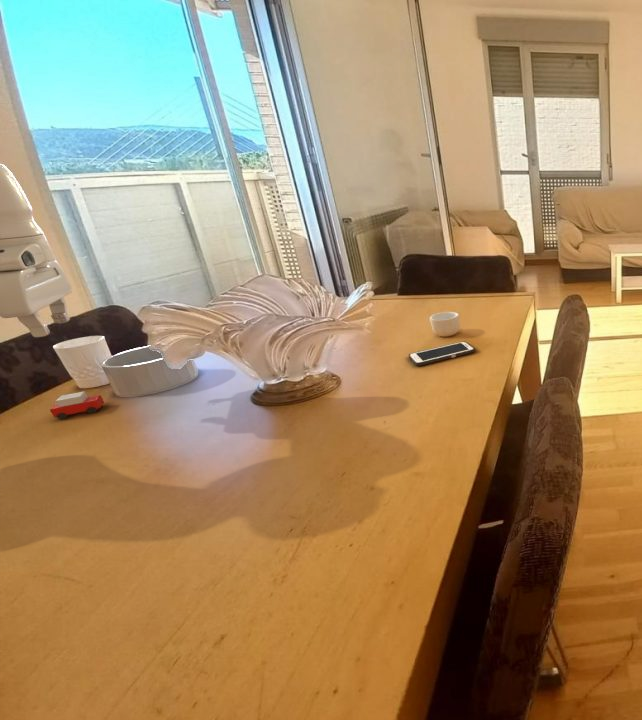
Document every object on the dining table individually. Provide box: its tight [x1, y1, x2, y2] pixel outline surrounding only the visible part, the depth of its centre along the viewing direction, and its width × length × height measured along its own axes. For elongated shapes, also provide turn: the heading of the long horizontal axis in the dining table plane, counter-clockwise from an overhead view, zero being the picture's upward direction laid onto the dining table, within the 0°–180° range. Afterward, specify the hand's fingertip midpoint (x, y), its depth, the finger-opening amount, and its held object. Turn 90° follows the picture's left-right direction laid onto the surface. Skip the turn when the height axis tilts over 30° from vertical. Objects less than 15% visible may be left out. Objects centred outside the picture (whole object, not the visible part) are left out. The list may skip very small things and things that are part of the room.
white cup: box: [52, 335, 113, 389], centre depth 107 cm, size 8×8×10 cm
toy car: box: [49, 391, 105, 421], centre depth 94 cm, size 6×4×4 cm, turn 122°
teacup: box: [429, 311, 461, 338], centre depth 133 cm, size 10×8×5 cm
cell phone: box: [408, 340, 476, 367], centre depth 118 cm, size 8×15×1 cm, turn 127°
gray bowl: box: [100, 345, 199, 398], centre depth 106 cm, size 14×14×7 cm
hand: (53, 328), depth 88 cm, fingers open, 8 cm apart
